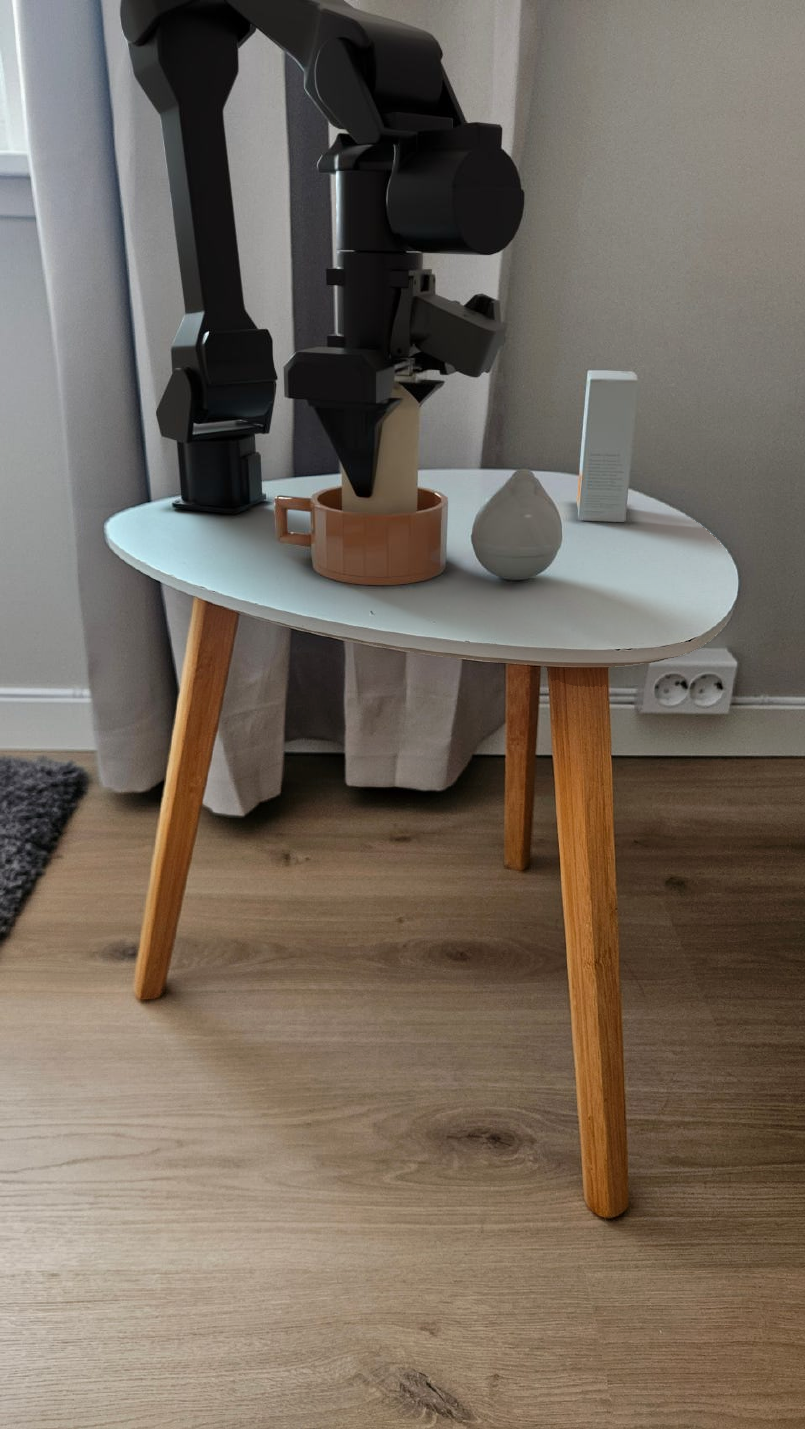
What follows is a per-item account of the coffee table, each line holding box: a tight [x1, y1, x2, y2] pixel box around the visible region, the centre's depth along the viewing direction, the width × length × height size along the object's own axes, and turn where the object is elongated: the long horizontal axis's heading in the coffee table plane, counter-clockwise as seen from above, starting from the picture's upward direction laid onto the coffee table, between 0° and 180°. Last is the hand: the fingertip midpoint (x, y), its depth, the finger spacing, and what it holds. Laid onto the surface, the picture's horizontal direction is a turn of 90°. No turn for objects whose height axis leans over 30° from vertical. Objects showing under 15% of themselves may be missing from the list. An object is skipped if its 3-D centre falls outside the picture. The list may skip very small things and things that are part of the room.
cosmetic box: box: [576, 369, 640, 523], centre depth 87 cm, size 6×4×12 cm
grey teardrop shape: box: [470, 468, 563, 581], centre depth 71 cm, size 7×7×8 cm
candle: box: [341, 381, 421, 514], centre depth 71 cm, size 6×6×10 cm
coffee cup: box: [273, 485, 449, 586], centre depth 74 cm, size 14×10×5 cm
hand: (378, 488), depth 72 cm, fingers closed on candle, 5 cm apart
